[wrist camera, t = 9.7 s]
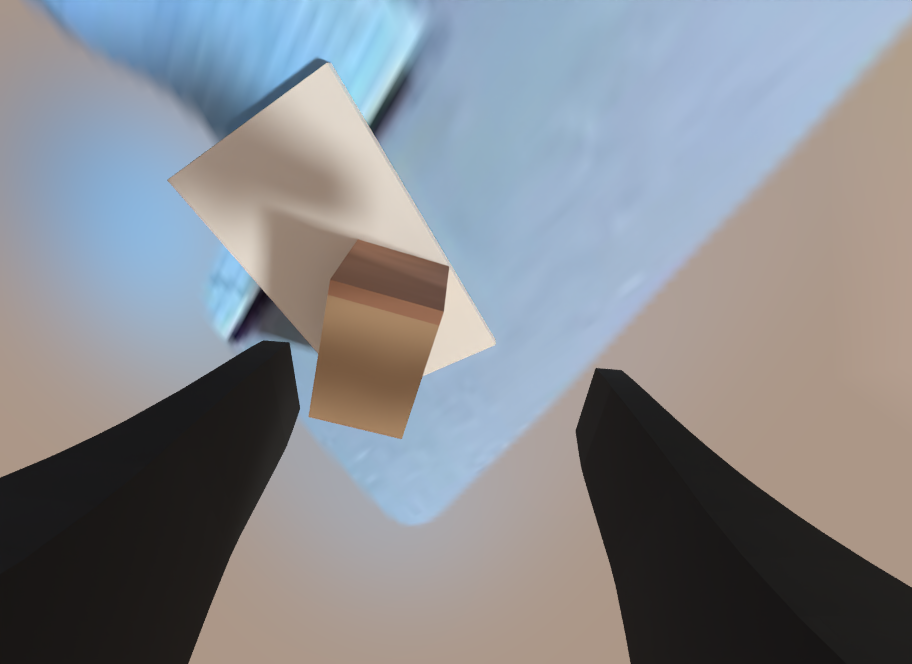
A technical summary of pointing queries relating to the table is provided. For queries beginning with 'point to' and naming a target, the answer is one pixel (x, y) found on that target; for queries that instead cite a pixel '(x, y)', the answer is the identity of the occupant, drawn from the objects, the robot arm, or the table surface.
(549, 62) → the table surface
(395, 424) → the walnut block
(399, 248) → the beige board
